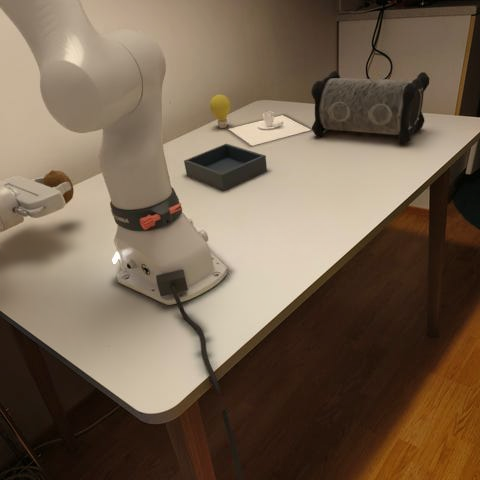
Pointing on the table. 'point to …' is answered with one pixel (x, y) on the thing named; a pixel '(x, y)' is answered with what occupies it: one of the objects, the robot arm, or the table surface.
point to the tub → (225, 166)
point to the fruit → (56, 178)
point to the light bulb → (220, 109)
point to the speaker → (369, 105)
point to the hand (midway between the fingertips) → (60, 181)
